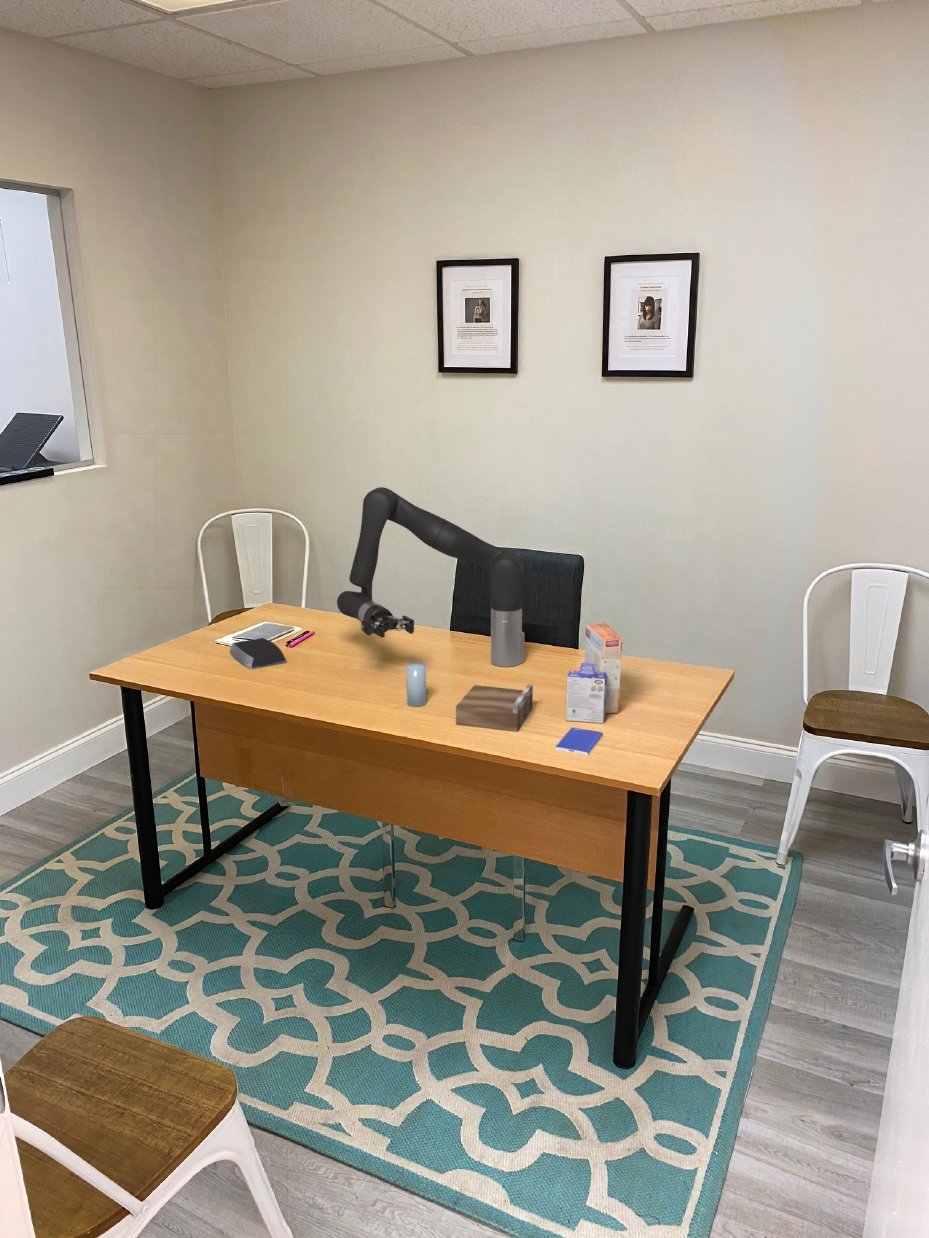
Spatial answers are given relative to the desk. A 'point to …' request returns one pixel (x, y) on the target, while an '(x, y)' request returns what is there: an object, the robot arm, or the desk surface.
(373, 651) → the desk surface
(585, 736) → the hard drive
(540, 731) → the desk surface
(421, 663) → the pale blue cylinder
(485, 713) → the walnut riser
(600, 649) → the cracker box
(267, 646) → the external hard drive
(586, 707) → the ink cartridge box
